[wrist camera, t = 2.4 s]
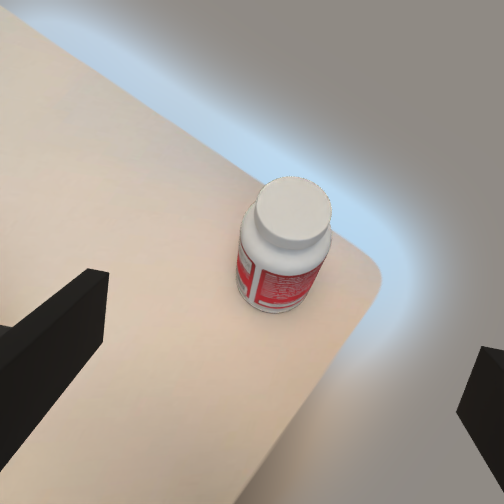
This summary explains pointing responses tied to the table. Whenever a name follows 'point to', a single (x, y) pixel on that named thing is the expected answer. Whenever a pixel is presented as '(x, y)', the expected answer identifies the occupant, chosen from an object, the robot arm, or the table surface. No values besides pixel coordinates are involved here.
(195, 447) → the table surface
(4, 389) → the robot arm
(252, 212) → the pill bottle
